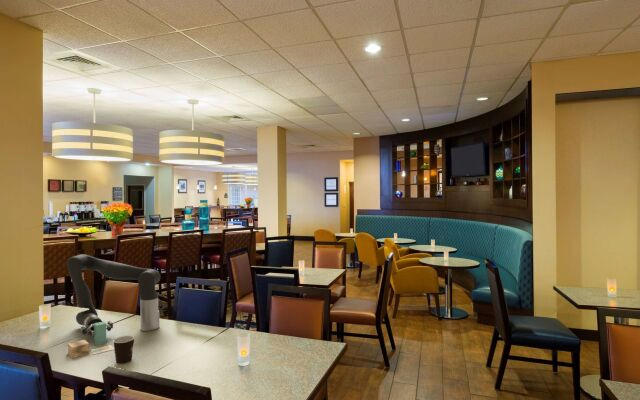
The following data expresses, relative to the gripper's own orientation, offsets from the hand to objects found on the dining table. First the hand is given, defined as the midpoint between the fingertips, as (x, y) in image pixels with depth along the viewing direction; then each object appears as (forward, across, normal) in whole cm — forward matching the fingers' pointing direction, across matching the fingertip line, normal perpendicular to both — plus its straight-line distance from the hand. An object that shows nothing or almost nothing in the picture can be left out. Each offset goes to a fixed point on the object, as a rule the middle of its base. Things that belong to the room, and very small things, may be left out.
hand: (100, 331), depth 195 cm
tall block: (0, 0, +6) cm, 6 cm away
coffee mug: (+31, +4, +6) cm, 32 cm away
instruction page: (+11, -1, +6) cm, 12 cm away
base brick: (+8, -11, +6) cm, 15 cm away
